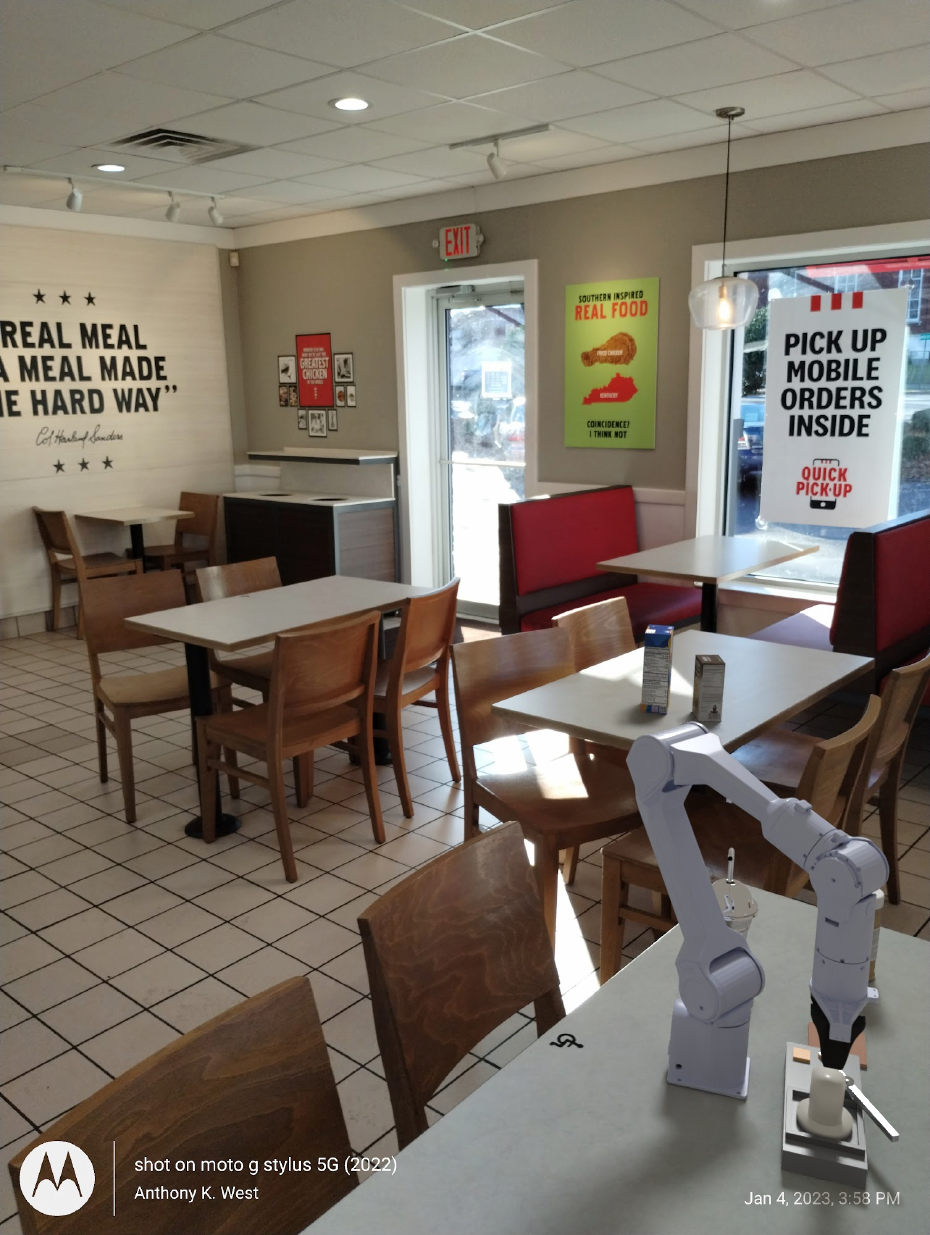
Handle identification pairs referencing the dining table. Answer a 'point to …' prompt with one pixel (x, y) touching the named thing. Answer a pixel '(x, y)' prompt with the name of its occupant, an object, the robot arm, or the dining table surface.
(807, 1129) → the plug
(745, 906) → the cup with straw
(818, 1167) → the power strip
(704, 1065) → the robot arm
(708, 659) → the coffee box
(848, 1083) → the clip
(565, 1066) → the dining table surface
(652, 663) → the beverage box
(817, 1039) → the mat
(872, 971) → the sprinkles bottle
